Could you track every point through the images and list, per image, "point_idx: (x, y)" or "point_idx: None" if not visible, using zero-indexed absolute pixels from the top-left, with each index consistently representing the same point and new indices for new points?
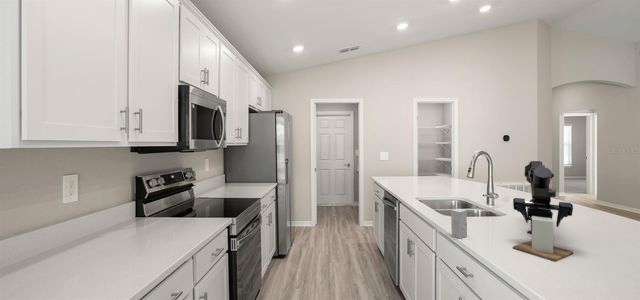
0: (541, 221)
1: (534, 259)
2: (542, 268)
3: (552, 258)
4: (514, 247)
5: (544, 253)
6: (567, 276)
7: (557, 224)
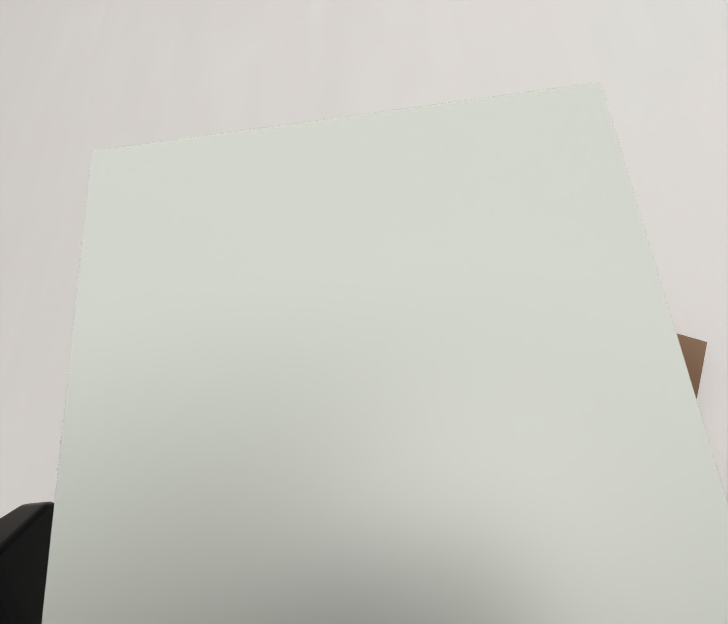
0: (362, 131)
1: None
2: (367, 31)
3: None
4: (679, 334)
5: None
6: (222, 9)
7: (16, 520)
